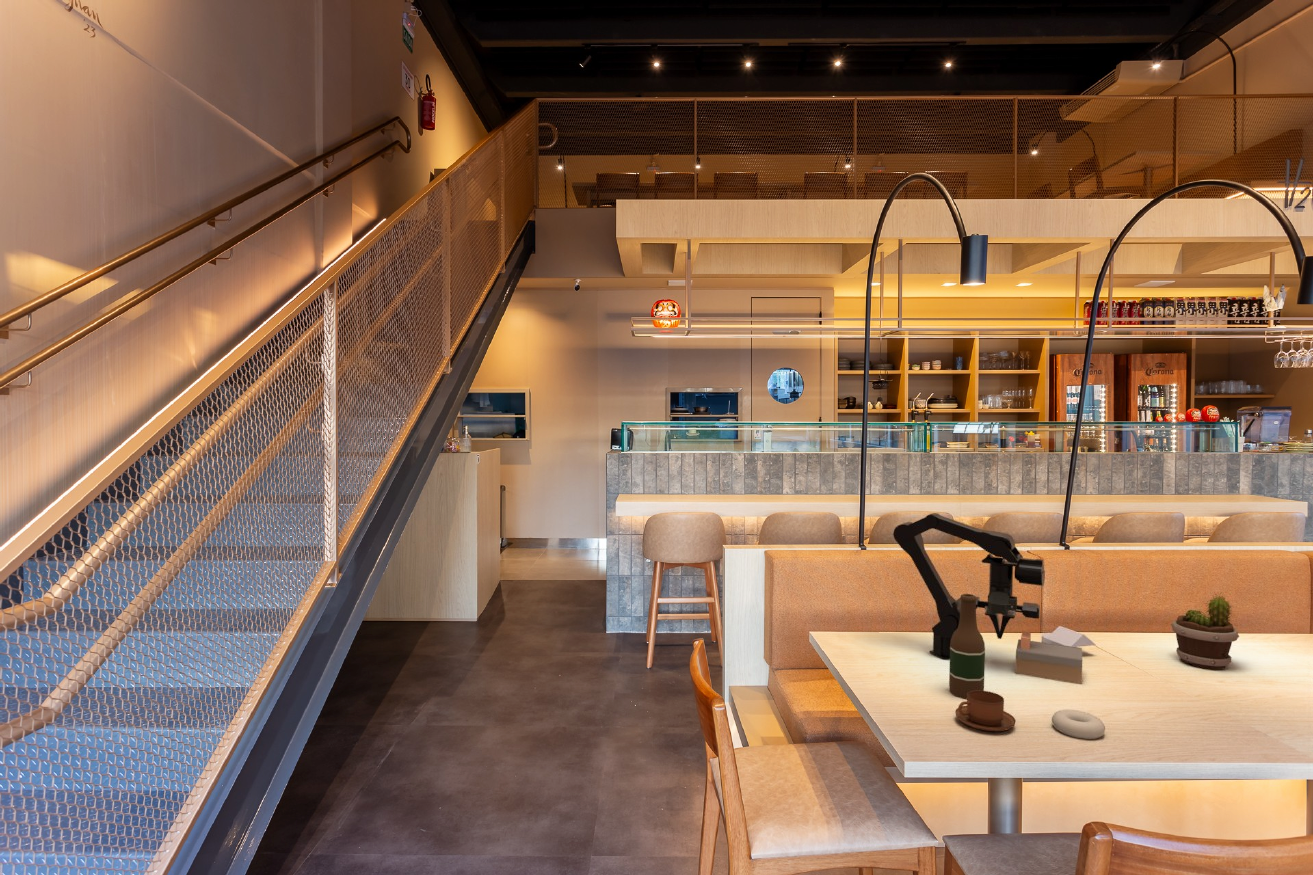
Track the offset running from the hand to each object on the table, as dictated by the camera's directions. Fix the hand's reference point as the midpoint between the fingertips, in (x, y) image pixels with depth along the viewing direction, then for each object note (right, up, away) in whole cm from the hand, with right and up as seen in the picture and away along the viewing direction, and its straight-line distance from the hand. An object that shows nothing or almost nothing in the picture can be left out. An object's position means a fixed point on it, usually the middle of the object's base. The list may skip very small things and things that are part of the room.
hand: (999, 638), depth 201 cm
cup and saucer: (-21, -9, -38) cm, 44 cm away
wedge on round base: (+25, -7, +13) cm, 29 cm away
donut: (-2, -9, -41) cm, 42 cm away
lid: (+10, -3, -6) cm, 12 cm away
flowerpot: (+57, -8, +3) cm, 57 cm away
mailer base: (+10, -8, -5) cm, 14 cm away
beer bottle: (-18, -8, -21) cm, 28 cm away
